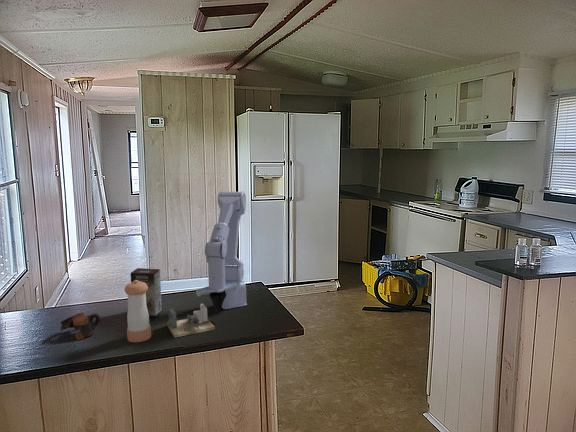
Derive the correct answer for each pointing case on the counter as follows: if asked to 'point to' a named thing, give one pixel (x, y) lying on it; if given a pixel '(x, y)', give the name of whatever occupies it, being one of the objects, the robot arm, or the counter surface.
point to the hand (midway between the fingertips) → (217, 312)
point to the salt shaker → (137, 312)
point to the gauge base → (190, 327)
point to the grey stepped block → (199, 314)
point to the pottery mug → (81, 324)
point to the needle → (195, 321)
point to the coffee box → (150, 288)
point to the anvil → (172, 318)
